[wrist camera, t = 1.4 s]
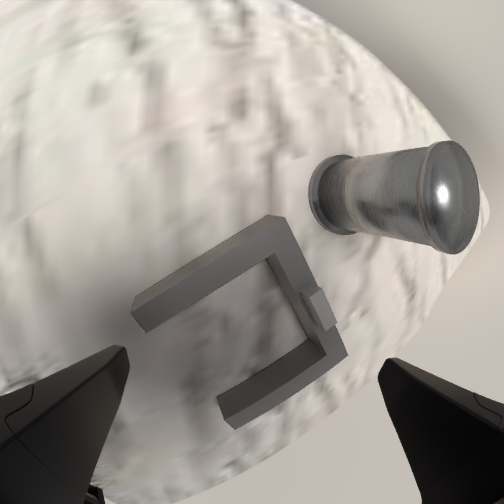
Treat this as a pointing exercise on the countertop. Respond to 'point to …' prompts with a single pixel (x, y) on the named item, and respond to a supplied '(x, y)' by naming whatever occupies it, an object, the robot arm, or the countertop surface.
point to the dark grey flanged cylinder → (400, 195)
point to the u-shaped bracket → (297, 291)
